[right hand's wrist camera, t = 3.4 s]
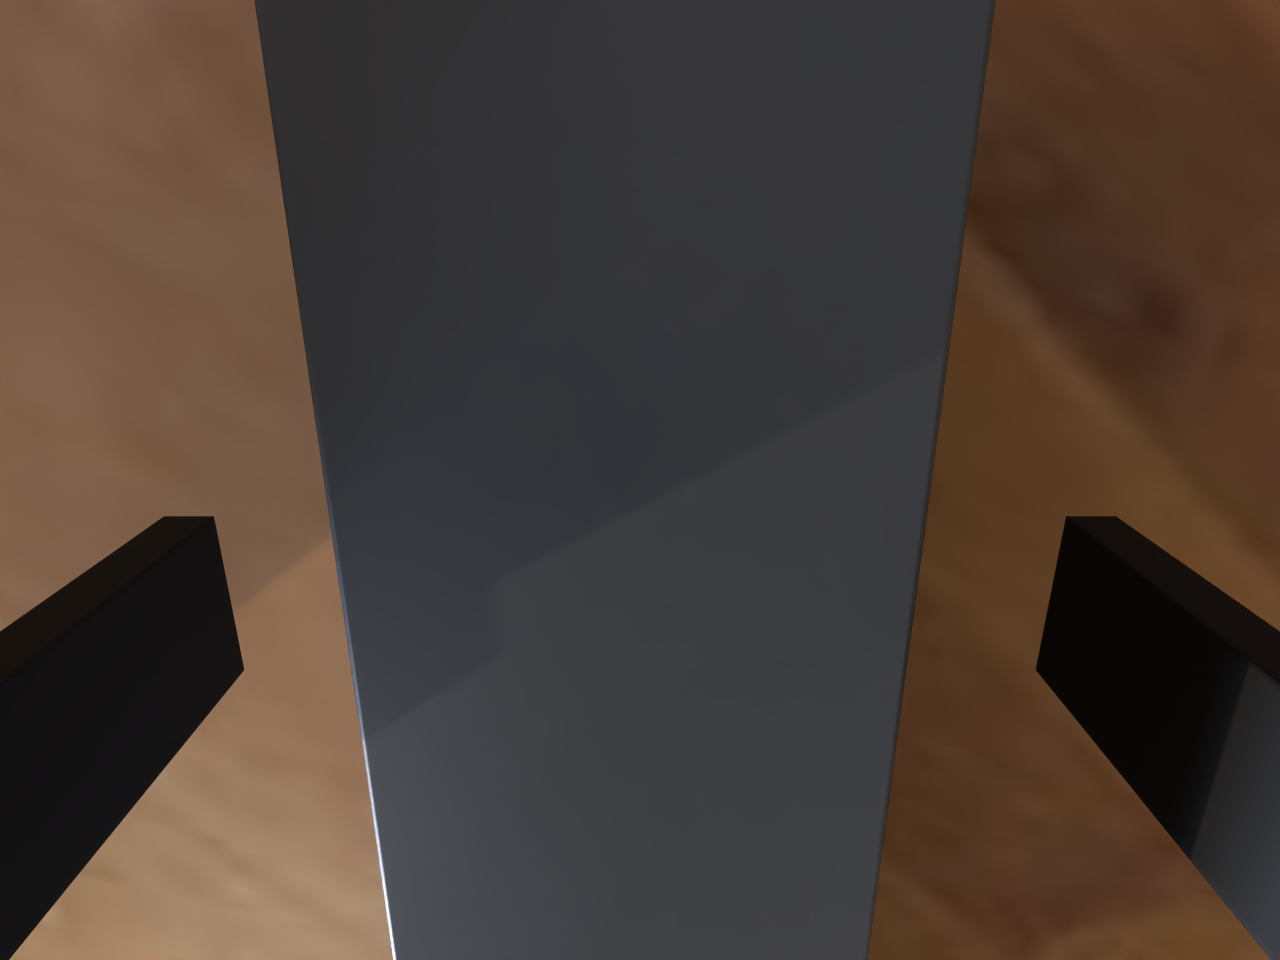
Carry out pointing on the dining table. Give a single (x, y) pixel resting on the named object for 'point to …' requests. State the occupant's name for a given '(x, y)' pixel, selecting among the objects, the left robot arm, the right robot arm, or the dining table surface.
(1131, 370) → the dining table surface
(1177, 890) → the dining table surface
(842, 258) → the beam
